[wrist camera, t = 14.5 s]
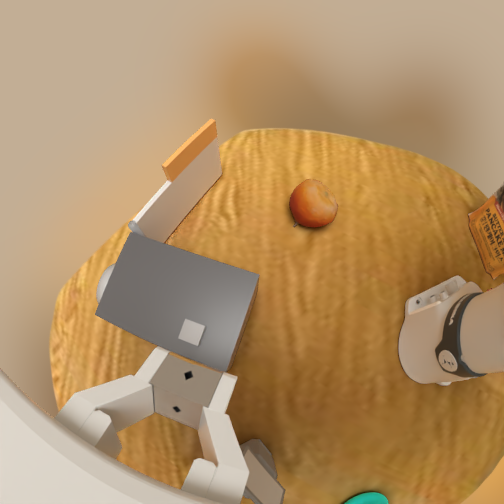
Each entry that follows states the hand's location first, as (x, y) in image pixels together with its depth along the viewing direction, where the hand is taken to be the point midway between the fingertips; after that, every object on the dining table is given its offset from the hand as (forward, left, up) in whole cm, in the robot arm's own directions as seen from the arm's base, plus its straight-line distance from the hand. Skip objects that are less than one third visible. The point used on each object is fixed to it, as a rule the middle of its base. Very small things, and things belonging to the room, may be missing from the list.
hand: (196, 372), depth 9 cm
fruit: (-22, -16, -32) cm, 41 cm away
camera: (+8, +15, -32) cm, 36 cm away
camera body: (+4, -10, -31) cm, 33 cm away
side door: (-3, -25, -31) cm, 40 cm away
